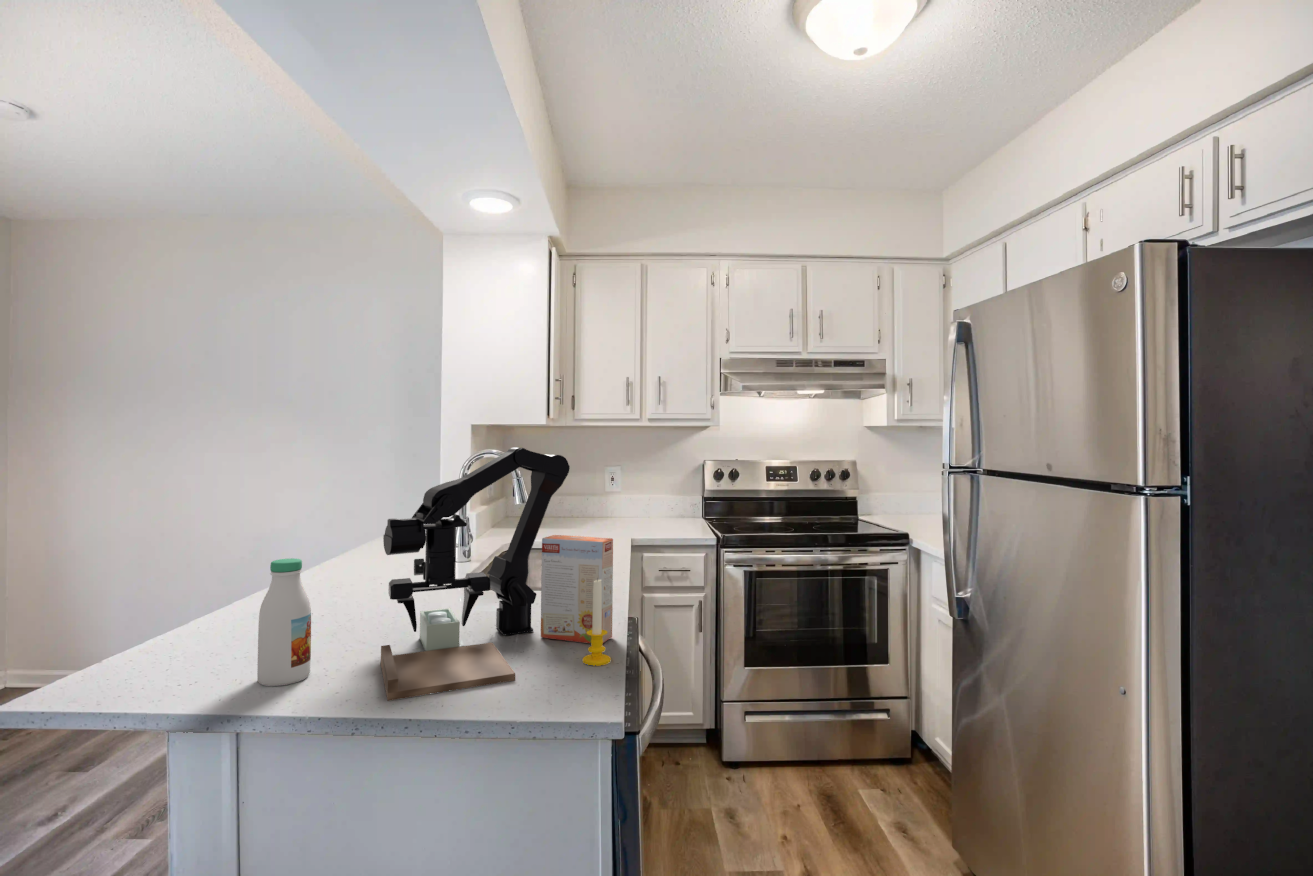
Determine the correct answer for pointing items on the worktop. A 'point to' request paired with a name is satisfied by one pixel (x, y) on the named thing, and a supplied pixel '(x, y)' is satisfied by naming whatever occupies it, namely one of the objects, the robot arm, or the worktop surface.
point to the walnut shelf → (442, 670)
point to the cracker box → (575, 586)
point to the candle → (597, 630)
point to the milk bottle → (284, 627)
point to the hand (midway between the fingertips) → (439, 628)
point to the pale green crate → (439, 629)
